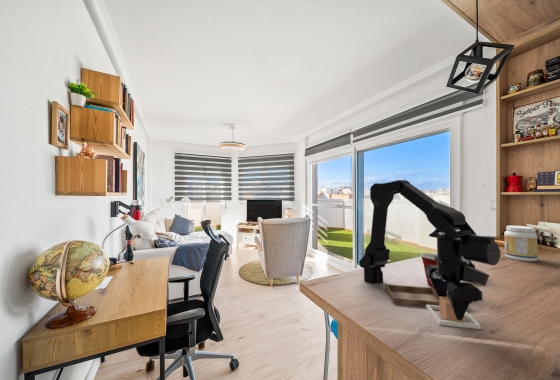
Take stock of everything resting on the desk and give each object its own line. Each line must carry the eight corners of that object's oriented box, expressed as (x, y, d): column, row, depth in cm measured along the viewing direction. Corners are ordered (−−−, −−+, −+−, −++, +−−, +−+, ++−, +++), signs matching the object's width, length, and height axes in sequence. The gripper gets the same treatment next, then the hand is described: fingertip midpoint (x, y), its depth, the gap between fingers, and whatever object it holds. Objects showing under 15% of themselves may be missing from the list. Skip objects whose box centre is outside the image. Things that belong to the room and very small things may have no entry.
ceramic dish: (439, 327, 61) (439, 321, 61) (425, 309, 70) (425, 304, 70) (481, 332, 58) (480, 325, 58) (461, 313, 68) (461, 307, 68)
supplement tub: (502, 254, 131) (501, 224, 131) (533, 257, 123) (532, 226, 124) (507, 259, 121) (506, 227, 121) (541, 263, 114) (540, 229, 114)
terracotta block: (463, 322, 62) (462, 304, 62) (446, 321, 63) (445, 302, 63) (455, 315, 66) (454, 297, 66) (439, 313, 67) (439, 296, 67)
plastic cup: (462, 290, 83) (461, 257, 84) (444, 296, 79) (443, 261, 79) (432, 280, 93) (431, 250, 93) (414, 284, 89) (413, 253, 89)
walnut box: (393, 305, 72) (393, 297, 72) (385, 290, 84) (385, 284, 84) (448, 311, 69) (448, 302, 69) (432, 294, 80) (432, 287, 80)
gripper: (508, 267, 53) (510, 334, 53) (464, 248, 72) (465, 298, 71) (453, 264, 56) (455, 328, 56) (424, 247, 74) (425, 295, 74)
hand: (450, 310), depth 64 cm, fingers open, 9 cm apart
